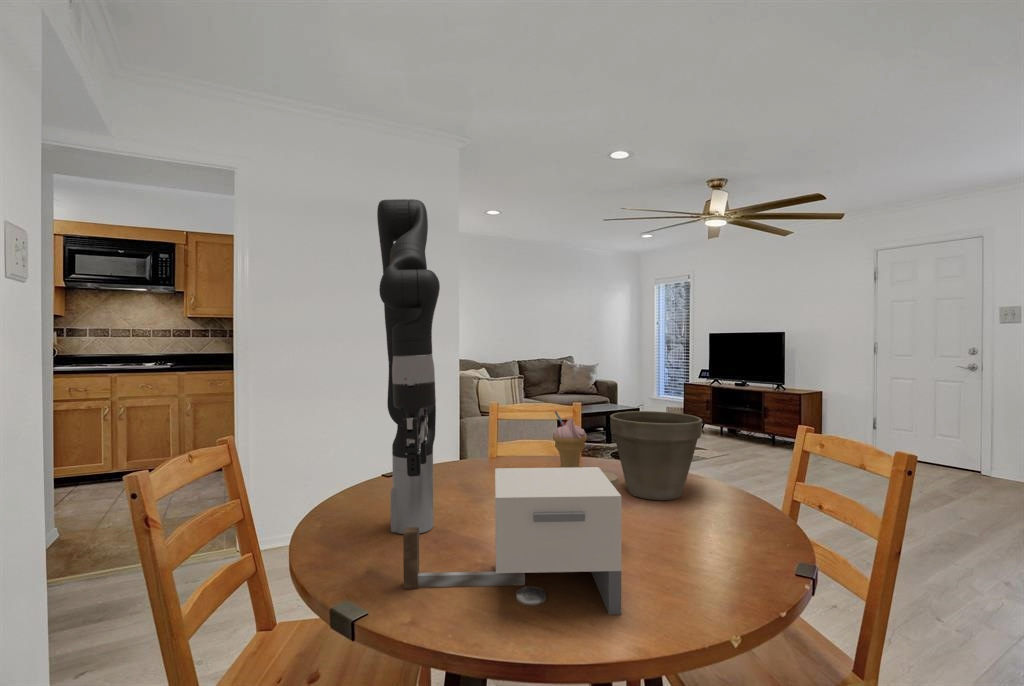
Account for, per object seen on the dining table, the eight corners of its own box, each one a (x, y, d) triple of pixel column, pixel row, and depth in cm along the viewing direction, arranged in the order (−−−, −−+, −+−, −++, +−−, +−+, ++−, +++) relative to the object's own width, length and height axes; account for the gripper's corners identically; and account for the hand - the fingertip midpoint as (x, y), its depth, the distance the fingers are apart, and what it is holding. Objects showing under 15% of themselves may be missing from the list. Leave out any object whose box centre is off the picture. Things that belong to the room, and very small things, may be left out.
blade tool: (403, 589, 92) (403, 532, 92) (405, 582, 94) (405, 527, 94) (525, 586, 93) (524, 530, 93) (524, 580, 95) (524, 525, 95)
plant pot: (658, 476, 164) (658, 407, 164) (722, 498, 142) (722, 418, 142) (592, 487, 153) (592, 413, 152) (651, 513, 131) (651, 426, 130)
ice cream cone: (558, 479, 161) (558, 414, 161) (548, 470, 172) (548, 409, 172) (592, 477, 163) (592, 413, 163) (580, 468, 174) (580, 408, 174)
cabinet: (495, 620, 82) (495, 499, 82) (495, 566, 101) (495, 468, 100) (622, 617, 83) (622, 498, 82) (598, 564, 102) (598, 467, 101)
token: (517, 607, 86) (517, 601, 86) (515, 592, 91) (515, 586, 91) (547, 606, 87) (547, 600, 87) (544, 591, 92) (544, 586, 92)
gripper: (399, 378, 102) (403, 461, 102) (385, 384, 87) (389, 481, 88) (438, 376, 102) (441, 459, 102) (430, 382, 88) (434, 479, 88)
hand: (417, 469), depth 95 cm, fingers open, 8 cm apart
